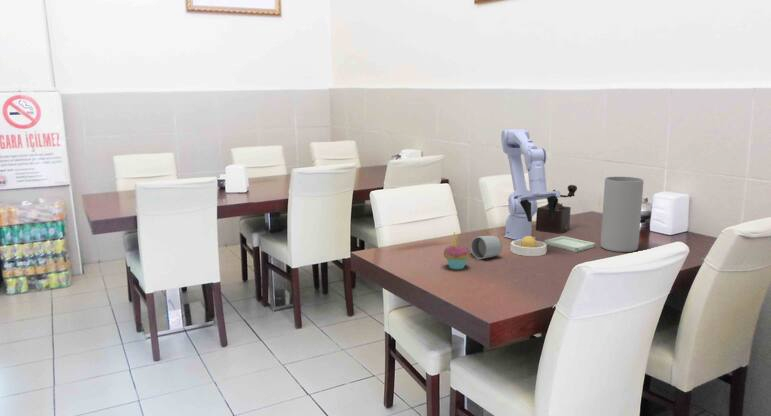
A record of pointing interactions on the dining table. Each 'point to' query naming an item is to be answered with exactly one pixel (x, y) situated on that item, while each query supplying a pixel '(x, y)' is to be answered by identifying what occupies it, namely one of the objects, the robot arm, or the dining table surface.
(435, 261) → the dining table surface
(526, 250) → the bowl
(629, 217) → the cylinder vase
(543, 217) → the brown manual coffee grinder
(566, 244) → the tray
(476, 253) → the ceramic mug
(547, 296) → the dining table surface
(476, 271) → the dining table surface
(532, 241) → the ball
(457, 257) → the cupcake
